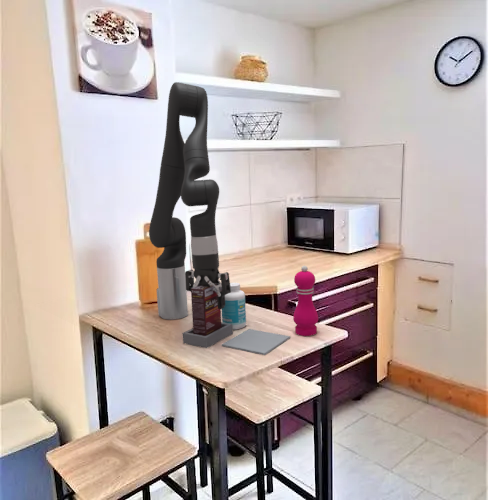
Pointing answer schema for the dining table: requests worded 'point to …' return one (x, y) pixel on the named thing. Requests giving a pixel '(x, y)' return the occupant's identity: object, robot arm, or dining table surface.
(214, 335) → the gray rectangular frame
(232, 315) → the pill bottle
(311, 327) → the pepper mill
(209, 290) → the supplement box
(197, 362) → the dining table surface
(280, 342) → the slate mat
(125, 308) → the dining table surface
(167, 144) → the robot arm
